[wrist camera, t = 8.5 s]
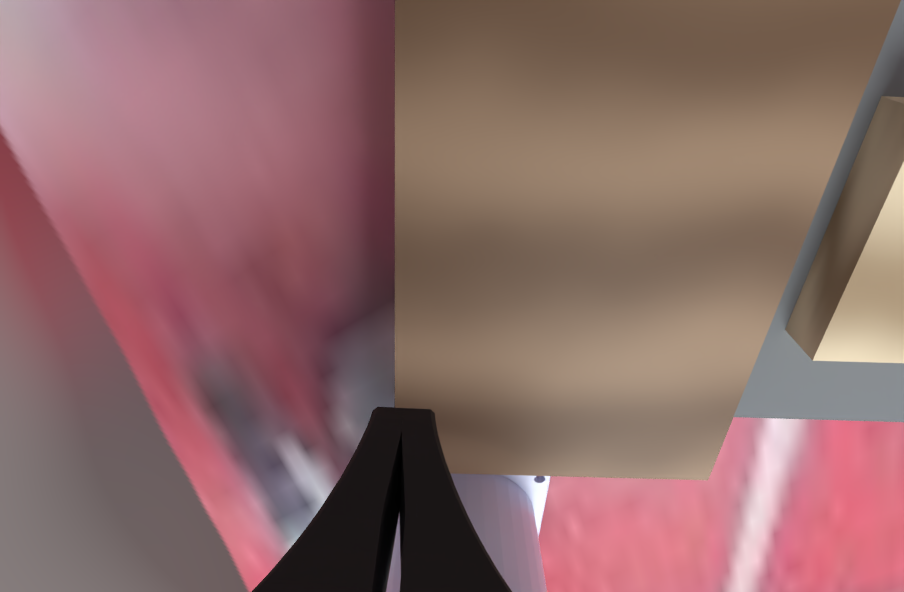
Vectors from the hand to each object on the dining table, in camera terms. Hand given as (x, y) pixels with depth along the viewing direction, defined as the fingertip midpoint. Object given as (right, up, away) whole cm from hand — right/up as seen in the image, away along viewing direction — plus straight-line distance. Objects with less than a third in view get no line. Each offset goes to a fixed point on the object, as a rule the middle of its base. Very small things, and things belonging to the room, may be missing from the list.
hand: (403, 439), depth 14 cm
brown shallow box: (+5, +6, +7) cm, 11 cm away
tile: (+18, +5, +6) cm, 19 cm away
